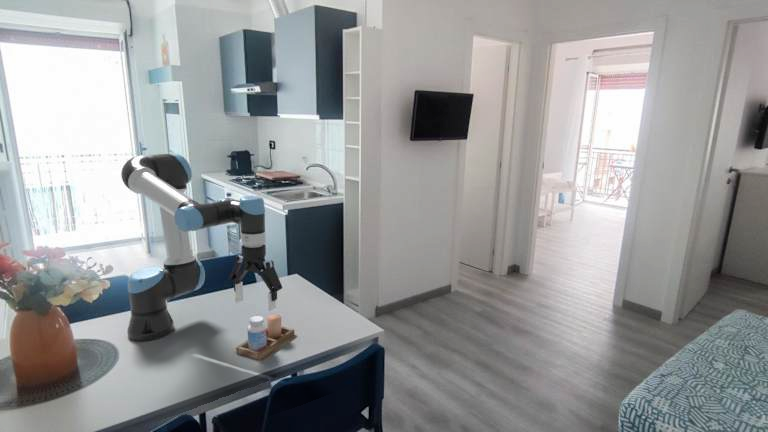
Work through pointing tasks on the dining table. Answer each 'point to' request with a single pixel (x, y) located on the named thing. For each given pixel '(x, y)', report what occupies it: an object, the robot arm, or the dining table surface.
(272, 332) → the peach capsule shape
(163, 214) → the robot arm
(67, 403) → the dining table surface
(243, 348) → the rack
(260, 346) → the pill bottle
